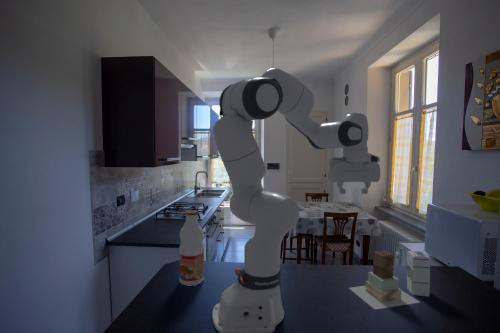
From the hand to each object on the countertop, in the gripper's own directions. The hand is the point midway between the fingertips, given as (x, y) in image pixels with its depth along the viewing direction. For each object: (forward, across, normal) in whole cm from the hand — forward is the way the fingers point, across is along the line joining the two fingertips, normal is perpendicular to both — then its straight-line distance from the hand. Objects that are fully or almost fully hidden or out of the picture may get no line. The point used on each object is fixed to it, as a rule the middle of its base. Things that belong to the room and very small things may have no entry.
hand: (353, 193), depth 99 cm
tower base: (+35, +7, -9) cm, 37 cm away
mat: (+35, +7, -9) cm, 37 cm away
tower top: (+32, +7, -9) cm, 33 cm away
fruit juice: (+36, -60, +16) cm, 72 cm away
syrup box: (+35, +21, -10) cm, 42 cm away
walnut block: (+28, +7, -9) cm, 30 cm away
